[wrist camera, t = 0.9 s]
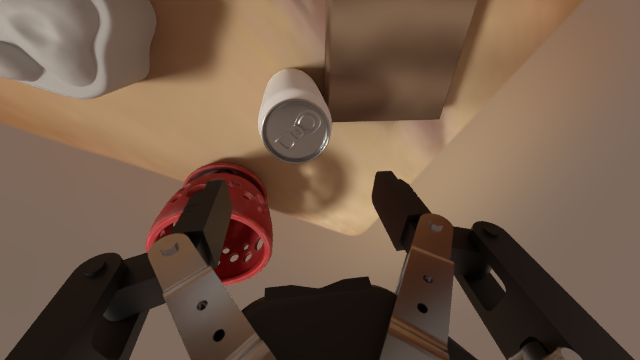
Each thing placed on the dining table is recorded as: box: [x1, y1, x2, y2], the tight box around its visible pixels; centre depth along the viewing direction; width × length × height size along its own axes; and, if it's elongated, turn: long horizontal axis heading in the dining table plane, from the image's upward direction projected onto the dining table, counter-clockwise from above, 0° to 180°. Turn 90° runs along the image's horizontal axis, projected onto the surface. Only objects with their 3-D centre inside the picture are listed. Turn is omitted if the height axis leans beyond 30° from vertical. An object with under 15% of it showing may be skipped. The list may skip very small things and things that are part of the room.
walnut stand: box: [324, 0, 478, 122], centre depth 25 cm, size 14×14×4 cm
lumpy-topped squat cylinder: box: [0, 0, 156, 99], centre depth 18 cm, size 10×13×9 cm
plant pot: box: [146, 163, 273, 285], centre depth 30 cm, size 13×13×12 cm
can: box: [258, 68, 332, 164], centre depth 23 cm, size 6×6×12 cm
